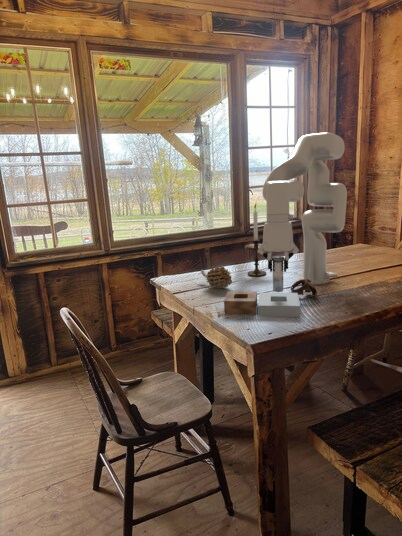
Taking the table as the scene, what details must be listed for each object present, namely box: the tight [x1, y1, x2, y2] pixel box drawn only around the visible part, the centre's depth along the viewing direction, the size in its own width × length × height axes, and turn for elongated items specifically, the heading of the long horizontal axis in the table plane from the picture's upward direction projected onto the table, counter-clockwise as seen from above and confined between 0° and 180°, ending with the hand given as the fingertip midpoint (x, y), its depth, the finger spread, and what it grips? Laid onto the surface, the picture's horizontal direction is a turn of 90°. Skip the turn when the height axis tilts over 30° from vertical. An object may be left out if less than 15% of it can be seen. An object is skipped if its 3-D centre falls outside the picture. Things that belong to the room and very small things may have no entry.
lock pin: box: [271, 255, 285, 293], centre depth 129 cm, size 4×4×12 cm
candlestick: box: [244, 203, 267, 278], centre depth 176 cm, size 11×11×35 cm
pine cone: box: [200, 266, 233, 289], centre depth 164 cm, size 22×10×10 cm, turn 38°
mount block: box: [223, 290, 258, 316], centre depth 135 cm, size 11×11×5 cm
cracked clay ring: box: [289, 279, 319, 300], centre depth 144 cm, size 12×10×8 cm
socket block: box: [257, 292, 301, 318], centre depth 132 cm, size 14×14×4 cm
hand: (278, 270), depth 129 cm, fingers closed on lock pin, 4 cm apart
